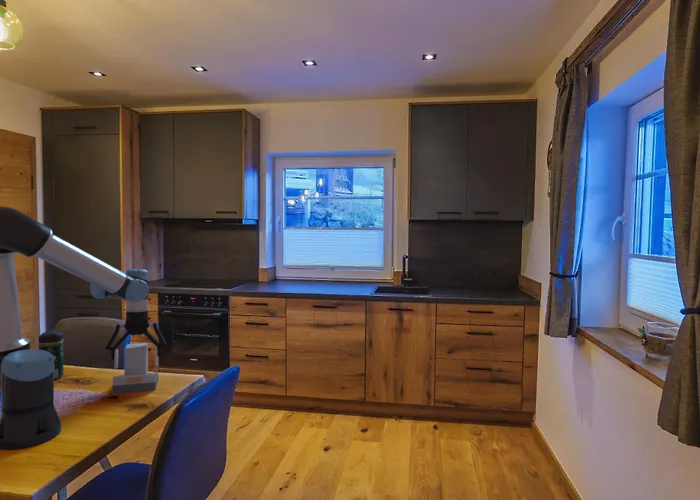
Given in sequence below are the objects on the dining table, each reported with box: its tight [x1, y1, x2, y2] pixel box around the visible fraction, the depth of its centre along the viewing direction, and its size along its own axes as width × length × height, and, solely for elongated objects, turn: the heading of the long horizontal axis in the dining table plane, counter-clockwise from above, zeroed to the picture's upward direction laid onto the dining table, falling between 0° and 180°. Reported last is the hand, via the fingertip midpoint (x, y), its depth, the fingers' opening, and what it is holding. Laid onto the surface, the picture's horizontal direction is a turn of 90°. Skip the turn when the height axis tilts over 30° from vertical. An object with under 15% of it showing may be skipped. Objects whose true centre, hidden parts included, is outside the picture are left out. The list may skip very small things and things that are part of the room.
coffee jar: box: [38, 329, 64, 380], centre depth 167 cm, size 10×8×19 cm
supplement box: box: [123, 342, 149, 376], centre depth 159 cm, size 7×7×13 cm
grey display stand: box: [112, 371, 159, 395], centre depth 159 cm, size 12×14×6 cm
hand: (136, 366), depth 159 cm, fingers open, 13 cm apart
